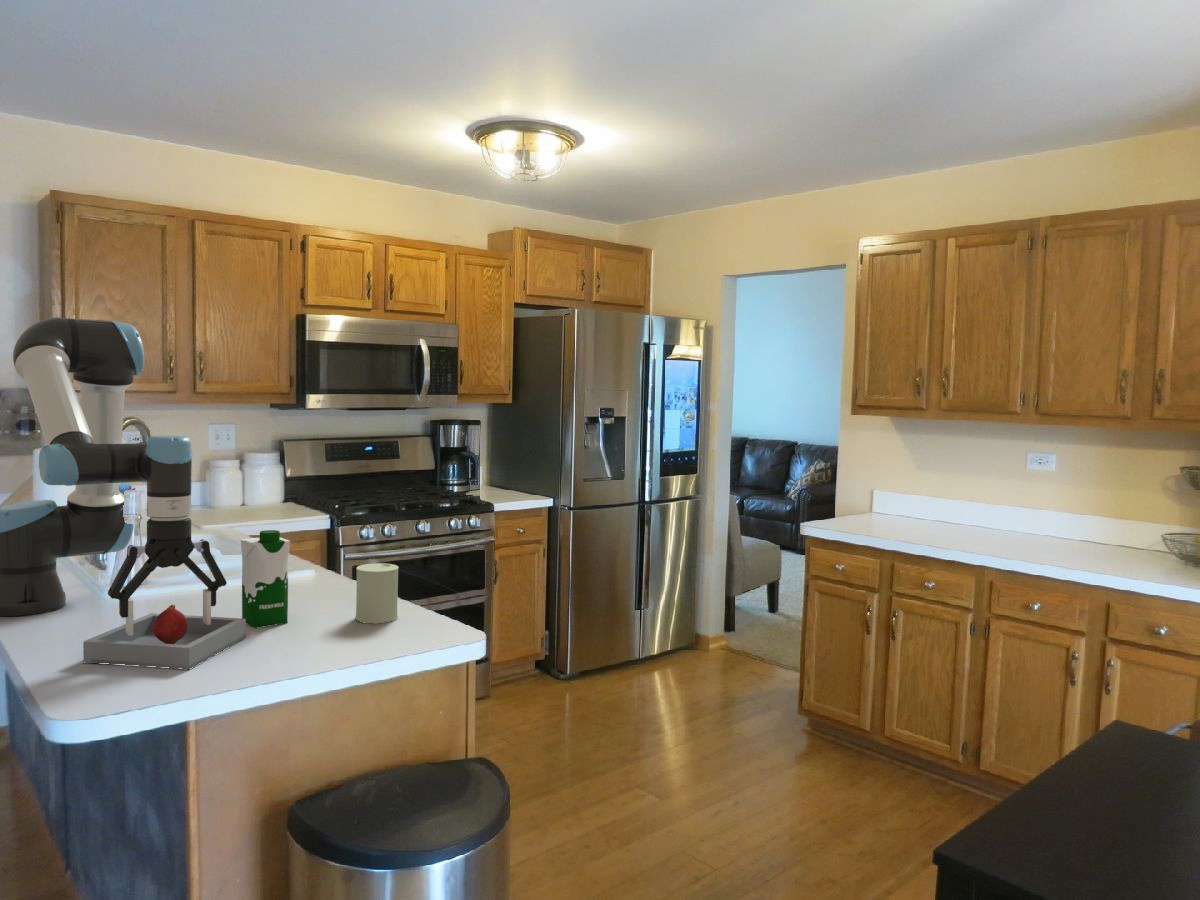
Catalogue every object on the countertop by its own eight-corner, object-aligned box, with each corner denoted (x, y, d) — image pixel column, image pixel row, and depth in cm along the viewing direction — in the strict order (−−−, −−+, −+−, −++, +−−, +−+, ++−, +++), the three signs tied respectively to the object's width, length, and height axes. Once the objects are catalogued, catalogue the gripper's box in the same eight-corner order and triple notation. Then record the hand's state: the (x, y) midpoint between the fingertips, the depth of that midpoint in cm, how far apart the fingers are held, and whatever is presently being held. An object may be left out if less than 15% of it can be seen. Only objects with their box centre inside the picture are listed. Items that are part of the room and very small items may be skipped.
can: (406, 616, 192) (407, 564, 191) (379, 626, 183) (380, 571, 183) (374, 610, 196) (374, 559, 195) (346, 620, 187) (347, 566, 186)
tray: (83, 663, 153) (83, 641, 153) (151, 632, 173) (151, 613, 173) (189, 670, 151) (189, 647, 151) (245, 638, 171) (245, 618, 171)
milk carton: (252, 630, 177) (253, 535, 176) (235, 620, 184) (236, 529, 182) (293, 623, 183) (294, 531, 182) (275, 614, 190) (276, 525, 188)
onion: (152, 651, 158) (153, 609, 158) (153, 642, 164) (154, 601, 163) (187, 648, 161) (188, 607, 160) (186, 639, 166) (187, 599, 166)
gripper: (97, 525, 150) (98, 643, 151) (243, 515, 166) (243, 623, 167) (89, 519, 155) (90, 633, 157) (231, 511, 171) (231, 614, 173)
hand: (169, 628), depth 162 cm, fingers open, 13 cm apart
